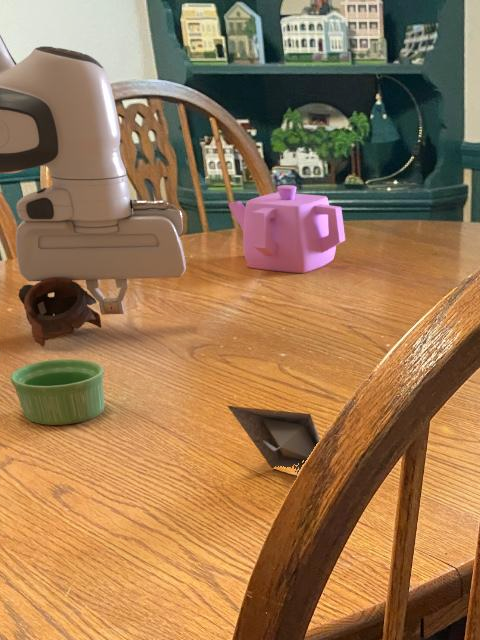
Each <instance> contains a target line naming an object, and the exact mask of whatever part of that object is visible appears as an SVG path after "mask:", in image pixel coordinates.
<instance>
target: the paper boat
mask: <svg viewBox="0 0 480 640" xmlns="http://www.w3.org/2000/svg"><path fill="white" fill-rule="evenodd" d="M227 408H228V409H229V411H230V412H231V414H232V415H233V416H234V417H235V419H236V421H237V422H238V424H240V427H242V429H243V430H244V431H245V433H246V435H248V437H249V439H250V440H251V441H252V443H253V444H254V445H255V447H256V448H257V450H258V451H259V452H260V454H261V455H262V457H263V458H264V460H265V461H266V462H267V463H268V465H269V466H270V468H271V469H272V468H274V467H275V466H276V467H278V466H279V467H280V466H282V467H283V466H284V467H286V468H287V467H291V468H292V466H293V465H294V464H295V465H298V463H299V465H298V466H297V467H296V466H295V465H294V469H295V468H296V470H297V469H298V467H299V470H300V469H301V467H302V465H303V464H304V463H305V461H306V460H307V458H308V457H309V455H310V454H311V452H312V451H313V449H314V447H315V446H316V444H317V443H318V442H319V440H321V437H320V435H319V432H318V430H317V427H316V425H315V423H314V419H313V417H312V415H311V413H303V412H294V411H286V410H276V409H275V410H274V409H265V408H253V407H245V406H235V405H227ZM303 460H304V462H303V463H302V461H303ZM299 470H298V471H297V474H298V472H299ZM295 472H296V471H295ZM296 476H297V475H296ZM296 476H295V477H296Z"/></svg>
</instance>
